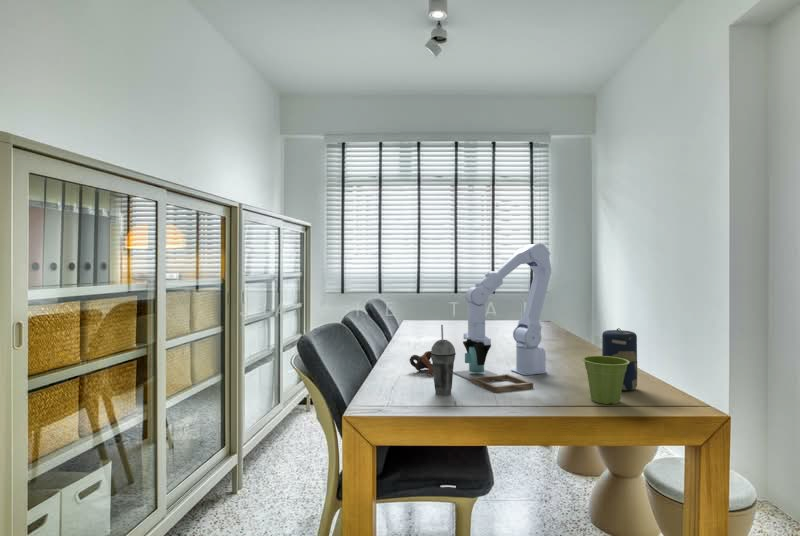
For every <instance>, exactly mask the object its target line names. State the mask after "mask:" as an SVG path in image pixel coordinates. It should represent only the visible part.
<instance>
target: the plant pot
mask: <svg viewBox="0 0 800 536" xmlns="http://www.w3.org/2000/svg"><path fill="white" fill-rule="evenodd" d="M581 359H582V361H583V362H584V366H585V369H586V374H587V380H588V381H587V382H588V387H589V393H590V399H591V400H592V401H593V402H595V403H598V404H602V403H603V404H602V405H610V404H612V405H617V404H619V403H620V402H621V398H622V397H621V396H622V391H623V390H622V386H623V381H624V376H625V372H626V369H627V365H628V364H629V363H630V362H629V361H628V360H626V359H622V358H617V357H610V356H602V355H587V356H584V357H581Z"/></svg>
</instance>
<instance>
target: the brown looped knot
mask: <svg viewBox="0 0 800 536" xmlns="http://www.w3.org/2000/svg"><path fill="white" fill-rule="evenodd" d="M415 361H416V362H415ZM431 361H432V360H431V350H428V351H425V352H424V353H423V354H422V355H421V356H419V355H417V354H413V355H411V356H410V358H409V363H410V365H411V366H412V367H414V368H415V369H416V371H418V372H420V371H421V370H423V369H427V371H426V372H427V373H426V374H427V375H429V376H432V375H434V374H433V363H431Z"/></svg>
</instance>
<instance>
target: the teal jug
mask: <svg viewBox="0 0 800 536" xmlns="http://www.w3.org/2000/svg"><path fill="white" fill-rule="evenodd" d="M464 364H468V370H469V371H470V372H474V373H481V372H484V370H485V364H484V365H478V363H477V355H476V350H475V348H474V346H470V347H469V353H467V352H465V353H464Z"/></svg>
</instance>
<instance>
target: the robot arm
mask: <svg viewBox="0 0 800 536" xmlns="http://www.w3.org/2000/svg"><path fill="white" fill-rule="evenodd" d="M550 256H551V252H550V250H549V249H548V248H547V246H546V245H545V244H543V243H541V242H540V243H534V244H532V243H531V244H530V243H529V244H528V243H527V244H523V245H522V246H521V247H520V248H519V249H517V250H515V252H514V253H513V254H512V255H511V256H510V257H509V258H508V259H507V260H506V261H505V262H504V263H503V264H502V265H501V266H500V267H499V268H498V269H497V270H496V271H492V270H491V271H490V272H489V271H488V272H485V274H484V277H483V278H481V280H479V281H478V282H475V283H474V286H471V287H470V288H468V290H467V291H466V294H465V295H464V297H465V301H466V302H467V333H466V332H465V333H463V340H464V341H462V343H463V346H464V348H465V350H466V353H469V347H470V346H474V348H475V350H476V355H477V363H478V365H484V366H485V363H486V360H487V356H488V353H489V350H490V349H491V348H492V343H491V342H492V341H491V338H489V337H488V336H486V303H487V302H488V300H489V297H490V296H491V295H492V294H493V293H494V292H495V291H496V290H498V288H500V287H501V286H502V285H503V283H504V278H506V277H507V276H508V275H509V274H510V273H512V272H513V271H514V270H515V269H517V268H518V267H519V266H520V265H523V264H524V265H525V264H527V266H529V267H530V268H531V270H532V272H533V277H532V282H531V286H530V288H529V293H528V297H527V300H526V304H525V307H524V312H523V316H522V317H521V318H520V319H519V320H518V322H517V326H516V327H515V328H514V329H513V332H512V337H513V340H514V341H515V342H516V344H515V347H516V348H515V351H516V352H515V354H516V355H515V357H516V358H515V360H516V361H515V362H516V363H515V364H516V367H515V368H512V369H510V371H511V372H514V373H517V374H520V375H523V376H529V375H539V374H547V373H548V371H547V369H546V368H547V367H546V366H547V365H546V363H547V361H546V360H547V358H546V355H547V354H546V350H545V349H544V347H543V346H541V345H540V343H541V342H542V324H541V323H540V318H541V314H542V310H543V306H544V302H545V298H546V295H547V291H548V287H549V283H550V279H551V275H552V266H551V260H550Z"/></svg>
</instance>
